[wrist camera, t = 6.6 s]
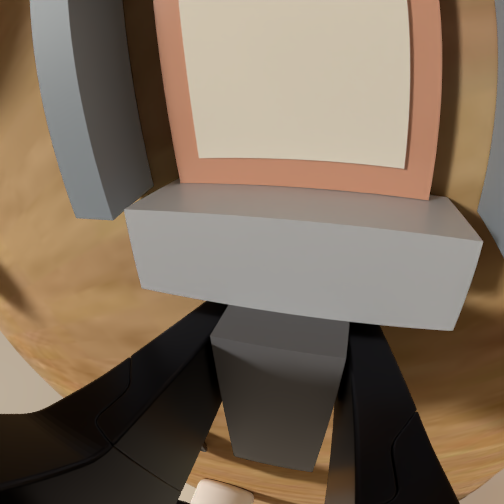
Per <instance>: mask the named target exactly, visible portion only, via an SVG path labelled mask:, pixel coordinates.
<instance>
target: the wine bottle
mask: <svg viewBox="0 0 504 504" xmlns="http://www.w3.org/2000/svg"><path fill="white" fill-rule="evenodd" d="M253 502H254V495H253V494H252V493H251V492H249V491H247V490H244V489H242V488H239V487H236V486H233V485H230V484H227V483H223V482H220V481H216V480H211V479H202V480H201V481H200V482H199V483H198V486H197V488H196V490H195V493H194V495H193V497H192V500H191V502H190V504H253Z"/></svg>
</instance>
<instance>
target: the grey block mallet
mask: <svg viewBox="0 0 504 504" xmlns="http://www.w3.org/2000/svg"><path fill="white" fill-rule="evenodd" d="M124 213H125V218H126V223H127V228H128V232H129V237H130V242H131V246H132V251H133V255H134V259H135V263H136V267H137V271H138V275H139V279H140V283H141V287H142V288H143V289H148V290H153V291H158V292H163V293H168V294H173V295H178V296H184V297H189V298H194V299H200V300H206V301H211V302H217V303H223V304H229V305H228V307H227V308H226V310H225V312H224V313H223V315H222V317H221V318H220V320H219V322H218V323H217V325H216V327H215V328H214V330H213V332H212V333H211V335H210V338H211V344H212V350H213V355H214V361H215V366H216V372H217V377H218V382H219V387H220V392H221V397H222V402H223V407H224V412H225V417H226V421H227V426H228V431H229V435H230V440H231V444H232V449H233V453H234V456H236V457H239V458H243V459H247V460H251V461H256V462H260V463H265V464H269V465H274V466H279V467H284V468H290V469H295V470H301V471H308V472H313V469H314V466H315V463H316V460H317V457H318V454H319V451H320V448H321V445H322V442H323V439H324V436H325V433H326V430H327V427H328V423H329V420H330V417H331V413H332V410H333V406H334V403H335V399H336V396H337V392H338V388H339V385H340V381H341V377H342V373H343V369H344V365H345V361H346V354H347V345H348V334H349V322H357V323H366V324H376V325H386V326H396V327H407V328H419V329H432V330H446V331H453V329H454V327H455V324H456V322H457V319H458V317H459V314H460V312H461V309H462V306H463V304H464V301H465V298H466V296H467V293H468V290H469V287H470V284H471V281H472V278H473V275H474V272H475V269H476V266H477V262H478V259H479V256H480V252H481V248H482V245H483V241H482V239H481V238H480V237H479V235H478V234H477V233H476V232H475V230H474V229H473V228H472V226H471V225H470V224H469V223H468V221H467V220H466V219H465V218H464V216H463V215H462V214H461V213H460V212H459V210H458V209H457V208H456V207H455V206H454V204H453V203H452V202H451V201H450V200H449V199H448V197H442V196H435V195H429V200H421V199H414V198H406V197H398V196H389V195H380V194H371V193H361V192H351V191H340V190H328V189H315V188H301V187H285V186H267V185H245V184H211V183H180V178H179V179H177V180H175V181H173V182H171V183H169V184H167V185H166V186H164V187H162V188H160V189H158V190H157V191H155V192H153V193H151V194H149V195H148V196H146V197H144V198H142V199H141V200H139V201H137V202H135V203H134V204H132V205H130V206H129V207H127V208H125V209H124Z"/></svg>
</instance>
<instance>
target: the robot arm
mask: <svg viewBox="0 0 504 504" xmlns="http://www.w3.org/2000/svg"><path fill="white" fill-rule="evenodd" d="M228 305H229V304H223V303H217V302H211V301H206V302H204V303H203V304H202V305H200V306H199V307H197V308H196V309H195V310H193V311H192V312H191V313H189V314H188V315H187V316H185V317H184V318H182V319H181V320H180V321H178V322H177V323H176V324H174V325H173V326H171V327H170V328H169V329H167V330H166V331H165V332H163V333H162V334H160V335H159V336H158V337H156V338H155V339H154V340H152V341H151V342H149V343H148V344H147V345H145V346H144V347H143V348H141V349H140V350H138V351H137V352H136V353H134V354H133V355H132V356H131V358H127V359H126V360H124V361H123V362H122V363H120V364H119V365H117V366H116V367H114V368H113V369H111V370H110V371H108V372H107V373H106V374H104V375H103V376H101V377H99V378H98V379H96V380H94V381H93V382H91V383H89V384H88V385H86V386H84V387H83V388H81V389H79V390H77V391H76V392H74V393H72V394H70V395H68V396H67V397H65V398H63V399H61V400H60V401H58V402H56V403H54V404H52V405H51V406H49V407H47V408H45V409H42V410H40V411H37V412H32V413H27V414H0V504H190V503H187V502H184V501H180V500H178V498H179V496H180V494H181V491H182V489H183V487H184V485H185V483H186V481H187V479H188V476H189V474H190V472H191V470H192V468H193V466H194V463H195V461H196V459H197V457H198V454H199V452H200V451H203V452H206V451H207V446H206V445H205V443H204V441H205V439H206V437H207V434H208V432H209V430H210V428H211V425H212V423H213V421H214V418H215V416H216V414H217V412H218V409H219V407H220V405H221V402H222V397H221V392H220V387H219V382H218V377H217V372H216V366H215V361H214V355H213V350H212V344H211V338H210V335H211V333H212V332H213V330H214V328H215V327H216V325H217V323H218V322H219V320H220V318H221V317H222V315H223V313H224V312H225V310H226V308H227V307H228ZM416 410H417V409H416V406H415V404H414V401H413V399H412V397H411V394H410V392H409V389H408V387H407V385H406V382H405V380H404V378H403V375H402V373H401V371H400V369H399V366H398V364H397V362H396V360H395V357H394V355H393V353H392V351H391V349H390V346H389V344H388V342H387V340H386V338H385V336H384V334H383V331H382V329H381V327H380V325H376V324H366V323H357V322H349V334H348V345H347V354H346V361H345V365H344V369H343V373H342V377H341V381H340V385H339V388H338V392H337V396H336V399H335V404H334V419H333V433H332V444H331V455H330V464H329V473H328V482H327V490H326V497H325V504H459V501H458V499H457V497H456V495H455V493H454V491H453V489H452V487H451V485H450V483H449V481H448V478H447V476H446V474H445V472H444V470H443V468H442V467H441V464H440V462H439V460H438V458H437V456H436V454H435V452H434V450H433V448H432V446H431V443H430V441H429V438H428V436H427V433H426V431H425V429H424V426H423V424H422V421H421V418H420V416H419V413H418V412H416Z"/></svg>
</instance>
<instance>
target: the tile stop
mask: <svg viewBox="0 0 504 504" xmlns="http://www.w3.org/2000/svg"><path fill="white" fill-rule="evenodd" d="M495 7H496V18H497V34H498V84H497V100H496V111H495V121H494V129H493V136H492V143H491V150H490V156H489V161H488V166H487V172H486V176H485V181H484V186H483V190H482V194H481V198H480V202H479V206H478V210H477V211H478V213H479V215H480V216H481V218H482V220H483V221H484V223H485V225H486V226H487V228H488V230H489V232H490V233H491V235H492V237H493V239H494V240H495V242H496V244H497V246H498V248H499V250H500V251H501V253H502V255H503V257H504V0H495ZM30 13H31V27H32V37H33V46H34V54H35V62H36V68H37V75H38V81H39V86H40V92H41V97H42V102H43V106H44V111H45V116H46V120H47V124H48V128H49V132H50V136H51V140H52V144H53V148H54V151H55V155H56V158H57V162H58V165H59V169H60V172H61V175H62V178H63V181H64V184H65V188H66V191H67V194H68V196H69V199H70V202H71V205H72V208H73V211H74V213H75V216H76V218H83V219H100V220H114V219H115V218H116V217H117V216H119V215H120V214H121V213H122V212H123V211H124V209H125V208H127V207H129V206H130V205H131V204H132V203H134V202H135V201H136V200H137V199H138V198H140V197H141V196H142V195H143V194H144V193H146V192H147V191H148V190H149V189H150V188H152V187H153V186H154V185H153V181H152V177H151V172H150V168H149V164H148V159H147V154H146V150H145V145H144V140H143V135H142V130H141V125H140V120H139V114H138V109H137V103H136V98H135V92H134V86H133V80H132V73H131V67H130V60H129V53H128V46H127V38H126V30H125V21H124V11H123V1H122V0H30Z"/></svg>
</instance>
